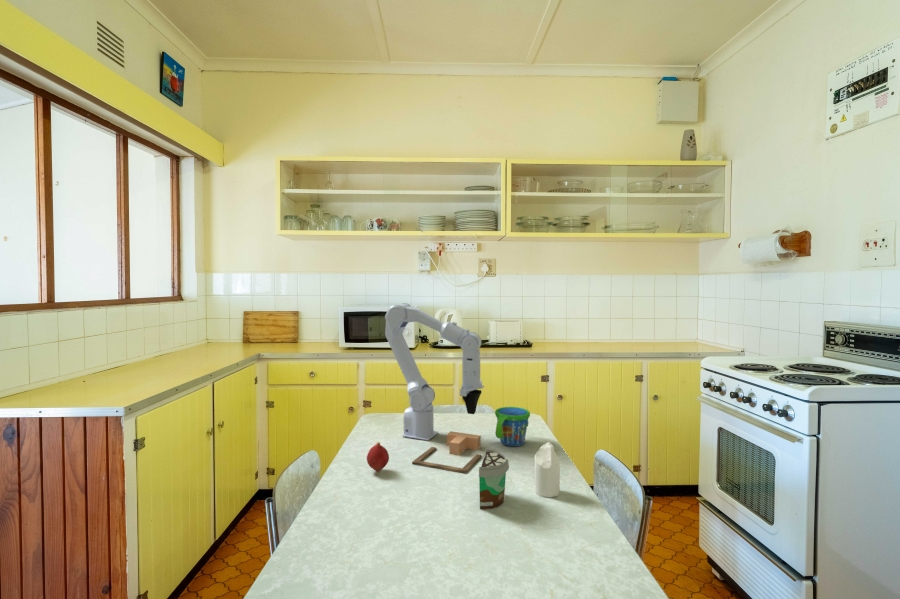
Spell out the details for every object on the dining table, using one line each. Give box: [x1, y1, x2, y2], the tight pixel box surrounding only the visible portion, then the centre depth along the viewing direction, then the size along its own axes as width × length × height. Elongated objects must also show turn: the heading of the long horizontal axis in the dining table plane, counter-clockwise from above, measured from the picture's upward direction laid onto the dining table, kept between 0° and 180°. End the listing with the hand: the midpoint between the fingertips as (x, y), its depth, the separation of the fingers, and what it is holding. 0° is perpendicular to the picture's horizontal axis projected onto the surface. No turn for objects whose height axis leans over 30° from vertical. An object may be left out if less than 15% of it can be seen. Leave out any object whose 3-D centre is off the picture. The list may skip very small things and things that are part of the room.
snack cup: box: [494, 406, 531, 447], centre depth 145 cm, size 16×10×10 cm
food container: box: [478, 448, 510, 510], centre depth 108 cm, size 12×6×10 cm, turn 168°
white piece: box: [534, 441, 561, 498], centre depth 112 cm, size 6×12×6 cm
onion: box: [366, 441, 390, 473], centre depth 124 cm, size 6×6×8 cm
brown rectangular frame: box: [411, 446, 483, 475], centre depth 132 cm, size 16×12×1 cm
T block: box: [446, 431, 482, 456], centre depth 140 cm, size 9×10×4 cm
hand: (471, 413), depth 149 cm, fingers closed
